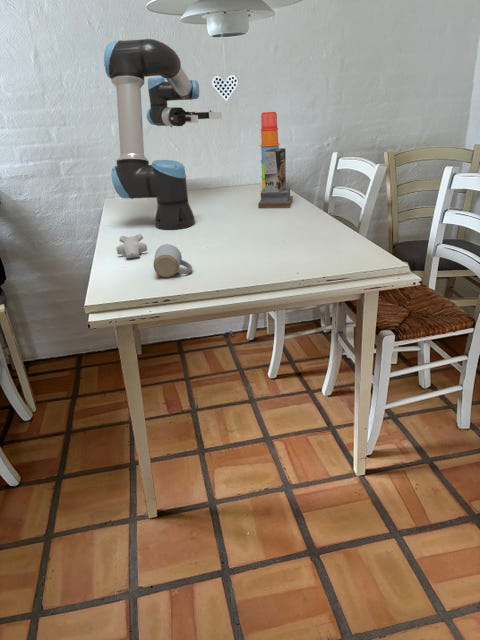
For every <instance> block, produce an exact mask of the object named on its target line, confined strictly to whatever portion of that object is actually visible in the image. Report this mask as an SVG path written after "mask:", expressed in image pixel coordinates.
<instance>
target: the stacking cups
mask: <svg viewBox="0 0 480 640" xmlns="http://www.w3.org/2000/svg"><path fill="white" fill-rule="evenodd" d="M277 114H278V113H277V111H266V112H264V111H263V112H261V115H260V123H261V124H260V125H261V126H260V127H261V128H260V129H259V130H260V136H261V138H260V140H261V142H260V143H261V144H260V151H261V153H260V154H261V160H260V163H261V175H260V178H261V190H260V193H261V192H262V191H263V189H264V188H265V166H264V151H267V150H270V149H277V148H279V147H280V143H279V133H278V132H279V127H278V115H277Z"/></svg>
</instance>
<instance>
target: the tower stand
mask: <svg viewBox="0 0 480 640" xmlns="http://www.w3.org/2000/svg"><path fill="white" fill-rule="evenodd" d="M293 198H294V196H293V195H291V186H286V188H285V189H283V190H282V191H280V192H265V188H264V189H263V191H262V192H261V191H260V200H259V202H258V204H257V205H258V207H257V208H258V209H290V208H291V206H292V203H293V200H294V199H293Z"/></svg>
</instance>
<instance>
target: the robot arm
mask: <svg viewBox="0 0 480 640" xmlns="http://www.w3.org/2000/svg"><path fill="white" fill-rule="evenodd" d="M103 53H104V55H103V64H104V68H105V74H106V76H107V77H108V78H109V79H111V83H112V84H113V85H114V87H115V88H116V89H115V90H116V103H117V105H116V107H117V119H118V120H117V123H118V135H119V139H118V140H119V154H120V155H119V156H118V158H117V160H116V165H114V166H112V168H111V180H112V184H113V187H114V190H115V192H116V194H117V195H118V196H119V197H120V198H121V199H131V200H134V199H150V198H151V199H152V198H156V203H157V204H156V205H157V207H156V214H155V218H154V222H155V224H154V225H155V227H156V228H157V229H160V230H167V231H168V230H181V229H186V228H189V227H192V226H194V225H195V223H196V217H195V214H194V213H193V210H192V208H191V205H190V203H189V196H188V195H189V194H188V184H187V175H186V169H185V168H186V167H185V166H184V164H183V163H182V162H180V161H178V160H172V159H171V160H170V159H155V160H153V161H152V162H151V164H150V163H149V162H150V161H149V160H148V159H147V157H146V156H145V145H144V131H143V129H144V128H143V110H142V109H143V107H142V91H141V89H142V87H143V86H144V85H145V77H149V78H148V80H147V88H148V89H147V92H148V97H149V98H148V99H149V104H150V107H149V109H148V110H147V113H146V119H147V122H148V123H149V124H150V125H151V126H157V127H161V126H162V127H170V128H173V127H183V126H184V125H186V123H196V124H197V123H199V120H208V119H209V120H222V112H221V111H212V110H209V111H201V112H199V111H198V112H196V111H185V109H184V108H182V107H181V106H180V107H175V106H174V107H173V106H172V107H171V106H169V107H168V102H170V101H187V100H188V101H189V100H190V101H192V100H198V99H199V97H200V85H199V82H198V81H197V80H194V79H189V76H188V75H187V74H186V72H185V71H184V69H183V67H182V64H181V58H180V57H179V55H178V53H177V52H176V51H175V50H174V49H173V48H171V47H170V46H169V45H167V44H165V43H164V42H162V41H160V40H156V39H153V38H145V39H129V40H116V41H110V42H109V43H108V44H107V45H106V46H105V49H104V52H103ZM157 76H158V77H157ZM159 76H160V77H159Z"/></svg>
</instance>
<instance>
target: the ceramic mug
mask: <svg viewBox="0 0 480 640" xmlns="http://www.w3.org/2000/svg"><path fill="white" fill-rule="evenodd" d="M182 258H183V257H182V253H181V251H180V249H179V248H178V247H176V246H175V245H173V244H169V243H167V244H162V245H160V246H159V247H158V248H157V249H156V251H155V254H154V259H153V269H154V271H155V273H156V274H157V275H158V276H160V277H162V278H172V277H173V276H175V275H176V274H177V273H179V274H183V275H189V274H191V273H192V270H193V265H191V264H190V263H189V262H187V261H186V260H183V259H182ZM180 266H183V267H185V268H183V267H180Z"/></svg>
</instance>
